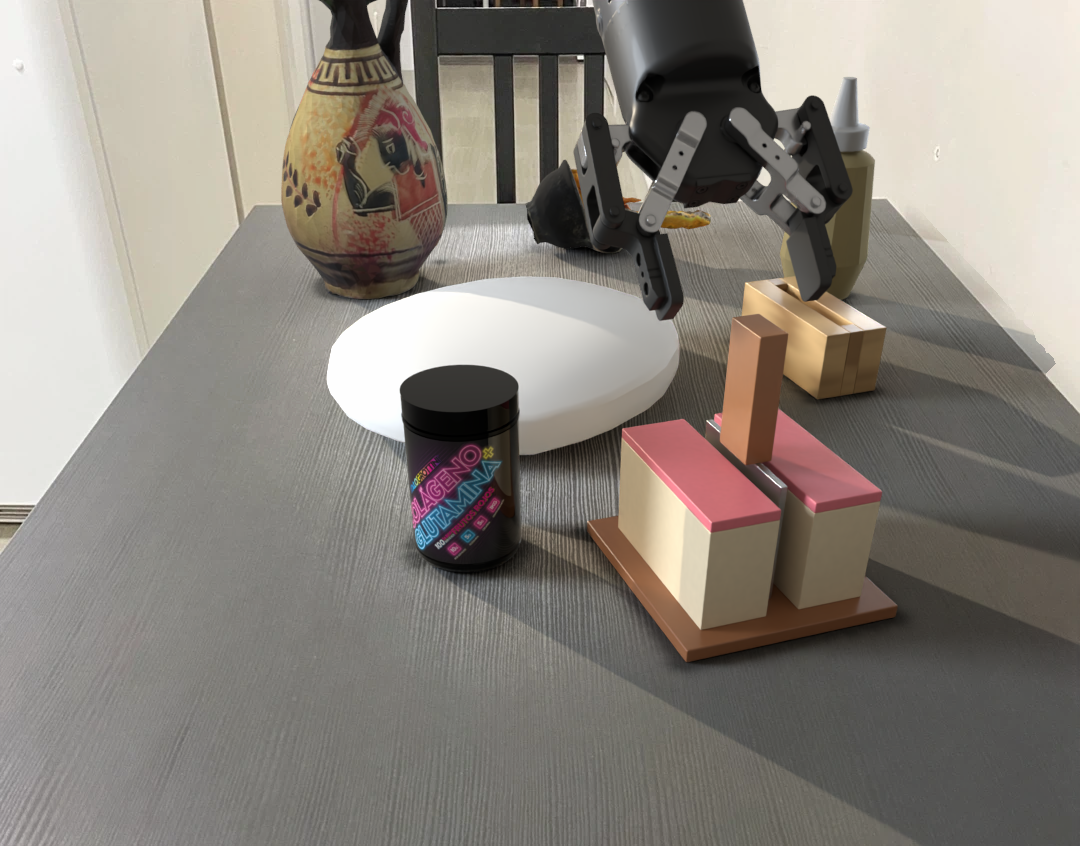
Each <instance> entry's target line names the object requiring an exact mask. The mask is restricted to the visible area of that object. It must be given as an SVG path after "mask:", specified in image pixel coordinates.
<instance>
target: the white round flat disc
mask: <svg viewBox="0 0 1080 846" xmlns="http://www.w3.org/2000/svg"><path fill="white" fill-rule="evenodd" d="M680 349H681V347H680V339H679V333H678V331H677V328H676V327H675V324H674V322H673V319H670V320H663V321H659V320H658V318H657V316H656V312H655V310H653V311H649V309H648V308H647V306H646V305H645V304H644V302H643V298H641V297H638V296H636V295H634V294H630V293H627V292H624V291H621V290H617V289H615V288H611V287H608V286H604V285H599V284H595V283H591V282H586V281H581V280H576V279H568V278H562V277H555V276H527V275H522V276H507V277H495V278H494V277H493V278H483V279H478V280H472V281H467V282H463V283H457V284H451V285H446V286H442V287H439V288H434V289H431V290H427V291H423V292H419V293H416V294H412V295H409V296H407V297H404V298H401V299H399V300H396V301H393V302H391V303H388V304H385V305H383V306H381V307H379V308H377V309H375V310H373V311H371V312H369V313H367V314H365V315H364V316H362V317H360V318H359V319H358V320H357V321H355V322H354V323H352V324H351V325H350V326H349V327H348V328H346V329H345V330H344V331H343V332H342V333H341V334H340V335H339V336H338V338H337V339H336V341H335V343H333V345H332V346H331V351H330V356H329V361H328V365H327V372H326V373H327V374H326V383H327V387H328V390H329V393H330V395H331V396H332V397H333V399H334V400H335V401H336V403H337V404H338V406H339V407H340V408H341V409H342V411H343V412H344V414H345V415H346V416H347V418H349V419H350V420H351V421H354V422H355V423H356V424H357V425H359V426H361V427H362V428H364V429H366V430H367V431H370V432H372V433H375V434H377V435H380V436H382V437H386V438H387V439H390V440H393V441H396V442H399V443H403V444H405V437H404V427H403V422H402V417H401V412H402V411H401V401H400V386H401V384H402V383H403V382H404V381H405V380H406V379H407V378H409V377H410V376H412V375H414V374H416V373H418V372H421V371H424V370H427V369H431V368H435V367H441V366H448V365H479V366H486V367H491V368H495V369H499V370H502V371H504V372H506V373H508V374H510V375H511V376H513V377H514V378H515V379H516V380H517V382H518V385H519V409H520V416H519V452H520V456H534V455H539V454H542V453H544V452H545V453H546V452H548V451H553V450H556V449H560V448H563V447H567V446H570V445H574V444H578V443H581V442H584V441H586V440H589V439H591V438H594V437H596V436H599V435H601V434H604V433H606V432H609V431H611V430H613V429H615V428H617V427H619V426H621V425H622V424H625V422H628V421H629V420H631V419H633V418H635V417H636V416H639V415H640V414H642V413H644V412H645V411H647V410H649V409H650V408H651V407H652V406H653V405H655V404H656V403H657V402H658V401H659V400H660V399H661V398H662V397H664V395H666V392H667V390H668V388H669V387H670V385H671V383H672V382H673V380H674V379H675V376H676V374H677V372H678V371H677V370H678V368H679V363H680Z"/></svg>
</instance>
